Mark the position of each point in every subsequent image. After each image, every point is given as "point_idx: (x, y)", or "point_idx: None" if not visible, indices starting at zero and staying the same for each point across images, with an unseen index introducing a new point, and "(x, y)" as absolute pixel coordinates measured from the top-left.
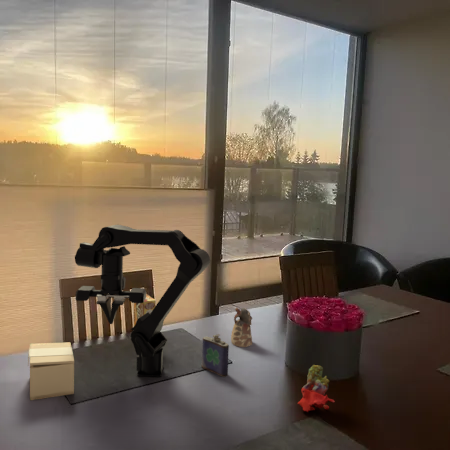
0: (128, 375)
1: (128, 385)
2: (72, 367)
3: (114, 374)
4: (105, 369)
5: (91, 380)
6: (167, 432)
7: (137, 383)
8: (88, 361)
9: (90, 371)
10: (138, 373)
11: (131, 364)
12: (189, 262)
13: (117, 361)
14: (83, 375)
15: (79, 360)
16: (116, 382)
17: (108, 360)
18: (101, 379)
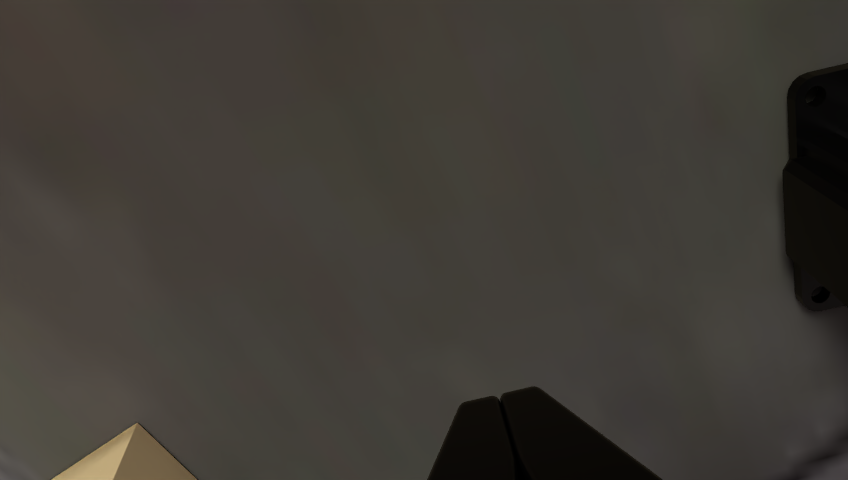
0: (705, 305)
1: (753, 454)
2: None
3: (566, 327)
4: (434, 264)
5: (411, 477)
6: None
7: (822, 406)
8: (151, 150)
9: (311, 344)
10: (813, 290)
11: (667, 68)
12: None
13: (478, 43)
14: (293, 427)
15: (35, 159)
16: (637, 443)
17: (361, 51)
18: None
